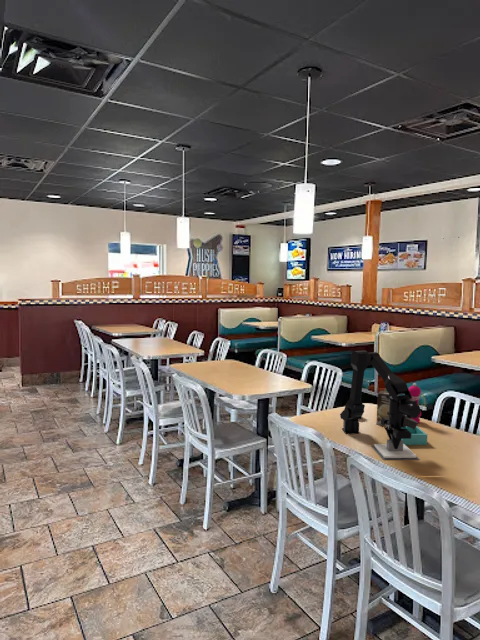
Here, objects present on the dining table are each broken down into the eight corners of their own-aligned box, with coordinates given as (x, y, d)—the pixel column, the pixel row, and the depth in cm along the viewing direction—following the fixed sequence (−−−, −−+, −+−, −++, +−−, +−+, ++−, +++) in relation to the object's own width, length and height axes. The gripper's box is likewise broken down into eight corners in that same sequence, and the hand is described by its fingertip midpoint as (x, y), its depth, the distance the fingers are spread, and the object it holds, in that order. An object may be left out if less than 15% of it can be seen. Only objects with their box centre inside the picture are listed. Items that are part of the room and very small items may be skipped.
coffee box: (375, 424, 224) (376, 392, 223) (379, 421, 230) (380, 390, 228) (394, 427, 220) (395, 395, 218) (397, 424, 225) (399, 392, 223)
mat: (382, 461, 180) (382, 460, 180) (370, 447, 195) (370, 445, 195) (420, 460, 180) (420, 459, 180) (405, 446, 195) (405, 445, 195)
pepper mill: (422, 424, 225) (423, 385, 223) (406, 423, 226) (408, 384, 224) (419, 419, 232) (421, 381, 230) (404, 418, 233) (406, 381, 231)
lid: (384, 458, 181) (384, 446, 180) (374, 445, 194) (374, 435, 193) (416, 457, 181) (417, 446, 181) (403, 445, 194) (404, 434, 194)
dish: (402, 445, 196) (402, 434, 196) (392, 436, 207) (393, 426, 207) (426, 445, 197) (427, 434, 196) (416, 436, 208) (416, 426, 207)
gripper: (425, 418, 177) (423, 456, 178) (406, 404, 195) (405, 439, 197) (397, 418, 176) (395, 456, 178) (381, 404, 195) (379, 439, 196)
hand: (394, 447), depth 187 cm, fingers closed on lid, 2 cm apart
